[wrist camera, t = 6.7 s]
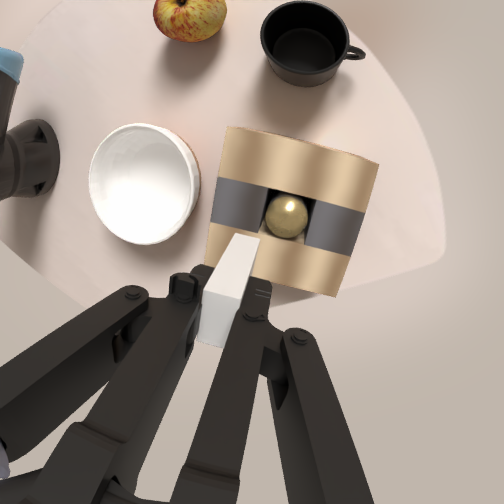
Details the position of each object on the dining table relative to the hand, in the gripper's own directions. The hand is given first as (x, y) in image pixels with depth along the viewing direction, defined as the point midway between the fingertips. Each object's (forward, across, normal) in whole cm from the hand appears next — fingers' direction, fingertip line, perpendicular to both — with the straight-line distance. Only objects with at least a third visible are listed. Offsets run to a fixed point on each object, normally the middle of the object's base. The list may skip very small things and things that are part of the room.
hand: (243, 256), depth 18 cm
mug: (+25, +2, +19) cm, 31 cm away
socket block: (+25, +3, -1) cm, 25 cm away
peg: (+23, +3, -1) cm, 23 cm away
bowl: (+25, -16, -2) cm, 30 cm away
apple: (+25, -14, +22) cm, 36 cm away
